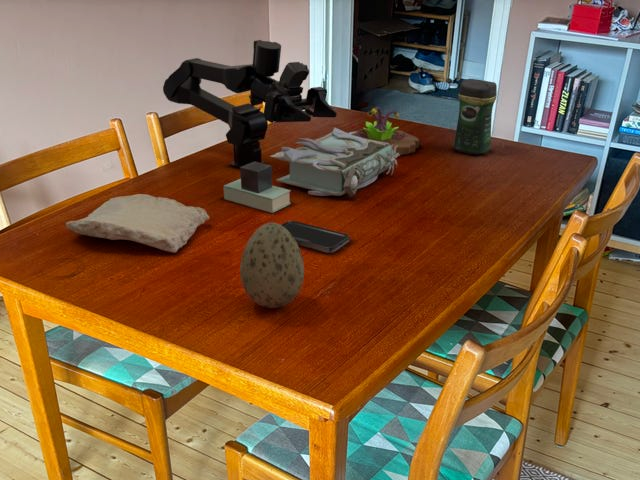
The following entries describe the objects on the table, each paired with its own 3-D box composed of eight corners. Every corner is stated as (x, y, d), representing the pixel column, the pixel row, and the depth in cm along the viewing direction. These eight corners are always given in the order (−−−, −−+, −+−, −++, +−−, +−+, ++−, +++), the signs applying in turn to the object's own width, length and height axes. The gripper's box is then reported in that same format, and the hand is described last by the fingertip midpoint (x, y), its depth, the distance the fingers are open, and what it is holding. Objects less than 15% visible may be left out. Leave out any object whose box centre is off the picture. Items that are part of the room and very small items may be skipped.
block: (241, 188, 167) (239, 167, 164) (255, 182, 170) (254, 161, 168) (258, 193, 165) (257, 171, 162) (272, 187, 168) (271, 165, 165)
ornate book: (345, 209, 168) (407, 169, 189) (346, 168, 163) (409, 131, 183) (265, 189, 178) (332, 153, 199) (263, 150, 173) (332, 117, 193)
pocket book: (224, 199, 170) (223, 185, 168) (243, 190, 175) (242, 177, 173) (272, 213, 164) (271, 199, 162) (290, 203, 168) (290, 190, 167)
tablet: (166, 266, 142) (213, 219, 157) (159, 231, 138) (208, 186, 152) (60, 251, 149) (115, 207, 164) (50, 217, 145) (107, 175, 159)
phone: (290, 219, 157) (351, 235, 151) (290, 224, 158) (351, 240, 152) (268, 232, 152) (331, 249, 145) (268, 237, 152) (331, 254, 146)
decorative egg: (316, 308, 128) (316, 227, 120) (262, 326, 122) (258, 242, 114) (283, 284, 135) (281, 206, 127) (231, 300, 130) (225, 220, 122)
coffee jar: (493, 150, 203) (503, 80, 193) (480, 158, 198) (489, 85, 188) (462, 144, 208) (470, 74, 198) (448, 150, 203) (455, 79, 193)
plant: (327, 145, 205) (327, 104, 199) (377, 132, 216) (378, 92, 210) (379, 164, 193) (381, 120, 186) (428, 149, 204) (432, 107, 198)
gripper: (251, 59, 163) (303, 83, 156) (306, 56, 176) (356, 78, 170) (243, 109, 169) (293, 135, 163) (297, 102, 182) (345, 126, 176)
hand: (323, 117), depth 168 cm, fingers open, 9 cm apart
